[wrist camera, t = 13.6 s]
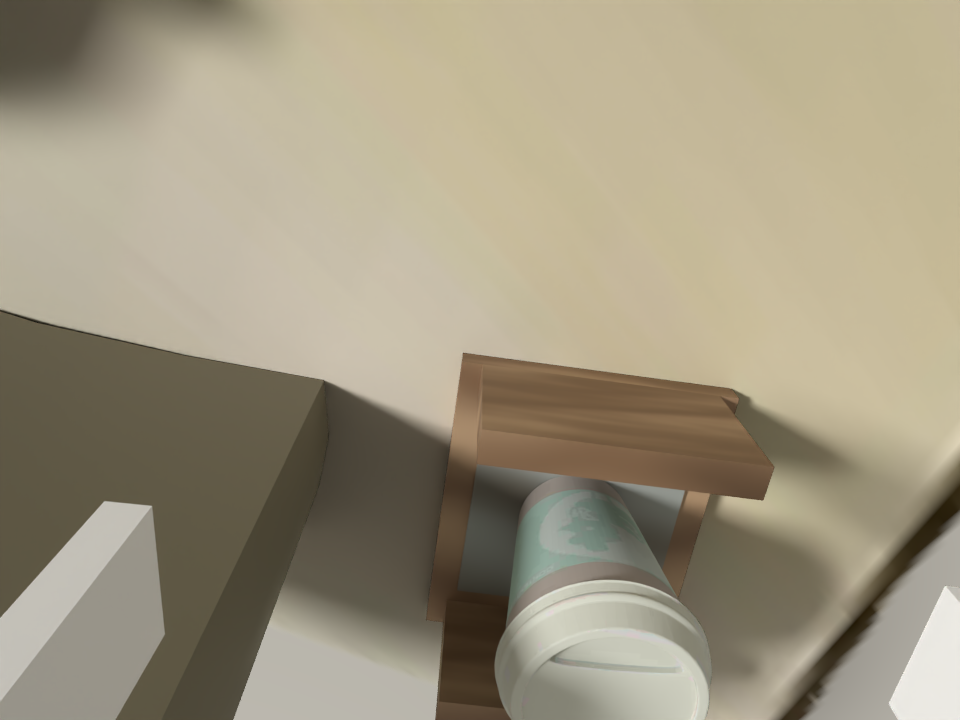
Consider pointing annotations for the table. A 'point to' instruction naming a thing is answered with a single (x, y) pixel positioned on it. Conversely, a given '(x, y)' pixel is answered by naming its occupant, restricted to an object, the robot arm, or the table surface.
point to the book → (162, 490)
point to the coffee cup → (595, 617)
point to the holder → (572, 452)
